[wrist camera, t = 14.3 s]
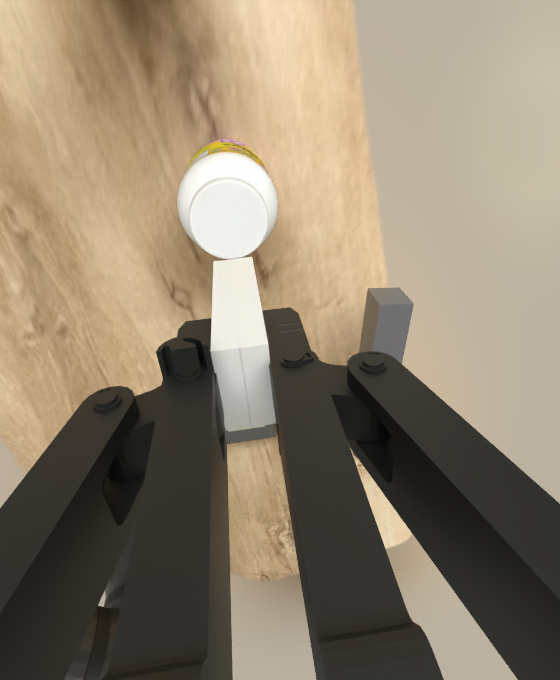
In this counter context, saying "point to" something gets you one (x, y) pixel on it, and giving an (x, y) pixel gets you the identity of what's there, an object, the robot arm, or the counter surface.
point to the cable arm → (386, 322)
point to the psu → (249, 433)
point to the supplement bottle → (227, 200)
